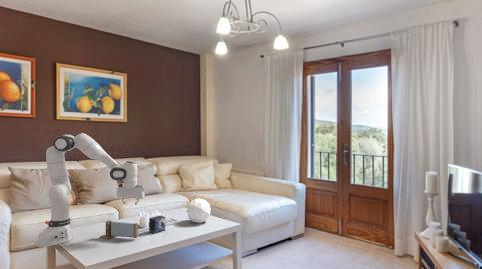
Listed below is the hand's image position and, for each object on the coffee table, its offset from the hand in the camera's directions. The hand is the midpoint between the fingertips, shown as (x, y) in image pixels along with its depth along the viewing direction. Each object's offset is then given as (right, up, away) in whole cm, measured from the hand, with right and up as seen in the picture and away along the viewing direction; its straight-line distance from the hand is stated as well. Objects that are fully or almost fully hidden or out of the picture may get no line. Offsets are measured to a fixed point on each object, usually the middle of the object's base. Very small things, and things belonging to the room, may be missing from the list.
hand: (130, 204), depth 233 cm
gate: (-3, -21, -4) cm, 22 cm away
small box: (+16, -23, +12) cm, 30 cm away
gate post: (-15, -23, -1) cm, 27 cm away
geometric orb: (+43, -22, +37) cm, 61 cm away
